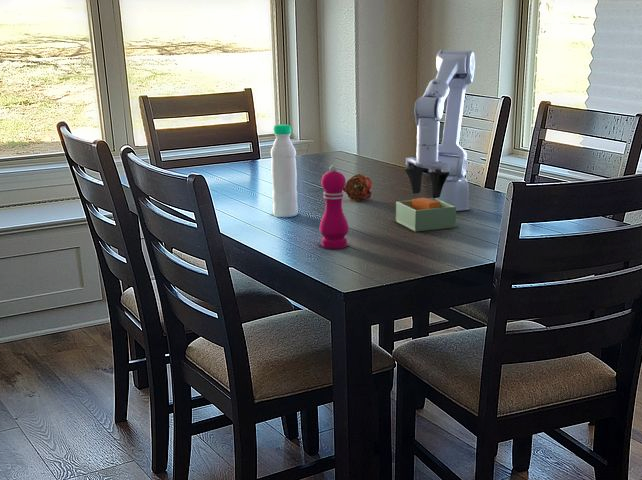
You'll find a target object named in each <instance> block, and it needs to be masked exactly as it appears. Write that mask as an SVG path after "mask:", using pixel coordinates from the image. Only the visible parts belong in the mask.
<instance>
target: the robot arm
mask: <svg viewBox="0 0 642 480" xmlns="http://www.w3.org/2000/svg"><path fill="white" fill-rule="evenodd" d="M435 58H436V59H435V60H436V61H435V66H436V67H435V68H436V70H437V73H436V76H435V78H433V79H431V80H430V81H429V82H428V84H427V87H426V88H425V91H424V93H423V95H422V96H420V97H419V98H417V99H416V100H415V102H414V108H413V111H414V112H413V113H414V119H415V127H416V128H417V129H416V132H417V133H416V157H413V156H411V157H405V166H406V167H405V168H404V172H405V173H406V175H407V177H408V180H409V182H410V186H411V191H412V194H413V195H416V194H420V193H421V189H422V177H423V174H424V170H425V169H428V170H429V177H430V181H431V195H432V198H437V199H439V200H442V201H444V202H446V203H449V204H451V205H453V206H455V207H456V212H463V211H469V210H470V207H469V193H470V192H469V189H470V187H469V182H468V180H467V179H466V178H465V177H466V174H467V170H468V169H467V168H468V159H467V158H468V153H467V152H466V150H465V149H464V148H463V147H462V146H461V145H460V136H461V128H462V120H463V113H464V103H465V97H466V96H465V95H466V91H467V86H468V85H470V84H472V83H473V79H474V75H475V68H476V55H475V53H474V51H473V50H472V49H469V50H457V49H456V50H453V49H451V50H449V49H440V50H438V52H437V53H436V57H435ZM445 101H446V107H445ZM444 108H446V109H445V115H444V116H445V117H444V123H443V132H442V142H441V143H440V120H441V119H442V118H443V114H444ZM439 143H440V144H439Z"/></svg>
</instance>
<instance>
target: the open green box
mask: <svg viewBox="0 0 642 480" xmlns="http://www.w3.org/2000/svg"><path fill="white" fill-rule="evenodd" d="M428 199H431V200H435V201H439V202H440V208H434V209H424V210H415V209H413V208H412V199H407V200H398V201H397V200H396V202H395V222H396V223H397V224H399V225H401V226H404V227H406V228H407V229H409V230H412V231H413V232H425V231H433V230H434V231H435V230H443V229H452V228H456V227H457V225H456V224H457V211H456V207H455V206H453V205H451V204H449V203H446V202H444V201H442V200H439V199H437V198H433V197H429V198H428Z"/></svg>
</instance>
